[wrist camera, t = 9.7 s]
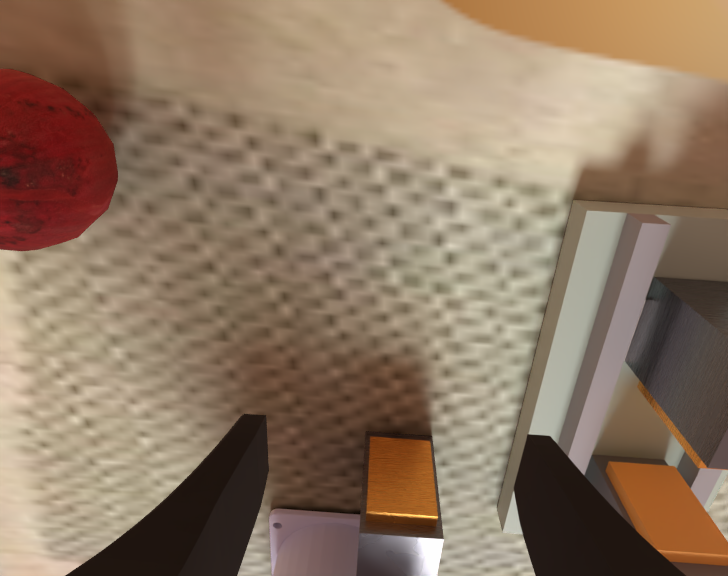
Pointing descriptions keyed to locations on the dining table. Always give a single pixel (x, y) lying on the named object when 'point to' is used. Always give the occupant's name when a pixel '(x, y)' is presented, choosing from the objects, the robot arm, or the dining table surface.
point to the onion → (49, 164)
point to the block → (399, 507)
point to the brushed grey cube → (686, 364)
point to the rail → (622, 375)
